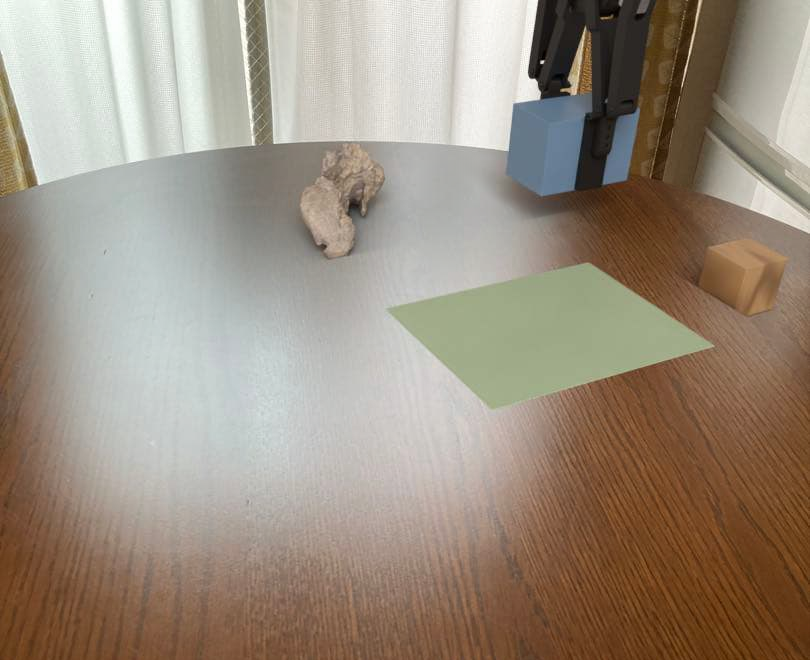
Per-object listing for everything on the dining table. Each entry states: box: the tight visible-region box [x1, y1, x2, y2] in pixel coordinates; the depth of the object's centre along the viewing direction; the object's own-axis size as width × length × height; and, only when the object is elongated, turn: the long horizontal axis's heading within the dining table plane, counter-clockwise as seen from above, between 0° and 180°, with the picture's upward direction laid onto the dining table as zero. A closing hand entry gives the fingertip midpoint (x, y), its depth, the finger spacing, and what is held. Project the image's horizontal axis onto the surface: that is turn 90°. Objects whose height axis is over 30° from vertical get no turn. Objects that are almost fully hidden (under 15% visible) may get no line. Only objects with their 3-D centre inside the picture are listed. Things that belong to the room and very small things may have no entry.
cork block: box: [697, 237, 789, 317], centre depth 76 cm, size 4×4×4 cm
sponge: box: [505, 91, 641, 197], centre depth 86 cm, size 10×6×6 cm, turn 118°
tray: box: [384, 261, 716, 411], centre depth 72 cm, size 20×16×1 cm
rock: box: [299, 141, 386, 260], centre depth 85 cm, size 6×14×7 cm, turn 165°
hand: (567, 175), depth 89 cm, fingers closed on sponge, 6 cm apart
